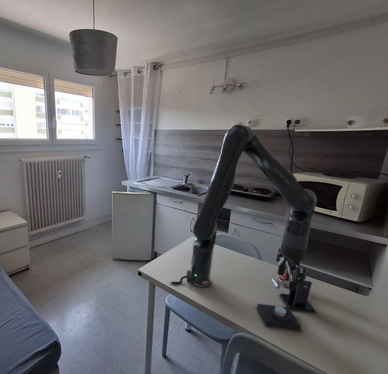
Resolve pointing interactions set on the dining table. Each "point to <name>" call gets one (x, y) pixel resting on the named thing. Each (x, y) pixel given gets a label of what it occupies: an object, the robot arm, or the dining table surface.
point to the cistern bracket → (298, 297)
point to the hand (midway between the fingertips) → (286, 281)
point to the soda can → (285, 277)
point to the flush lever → (280, 282)
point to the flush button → (280, 311)
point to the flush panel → (278, 317)
